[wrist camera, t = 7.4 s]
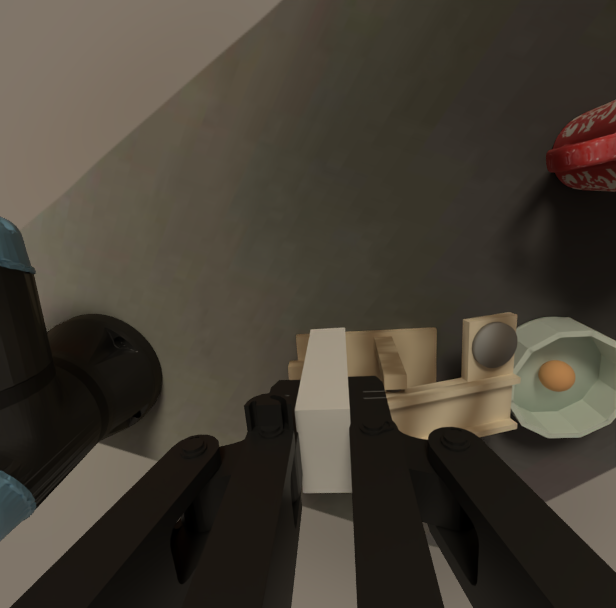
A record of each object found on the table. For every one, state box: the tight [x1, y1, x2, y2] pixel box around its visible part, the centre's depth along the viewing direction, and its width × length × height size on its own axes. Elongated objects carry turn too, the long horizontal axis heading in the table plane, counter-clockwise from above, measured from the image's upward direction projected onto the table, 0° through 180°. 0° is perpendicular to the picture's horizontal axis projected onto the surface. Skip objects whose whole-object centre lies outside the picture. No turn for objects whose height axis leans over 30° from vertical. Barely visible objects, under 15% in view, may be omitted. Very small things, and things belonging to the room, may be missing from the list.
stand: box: [288, 327, 437, 392], centre depth 40 cm, size 17×11×11 cm, turn 95°
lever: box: [385, 312, 521, 440], centre depth 36 cm, size 24×12×6 cm, turn 95°
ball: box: [538, 360, 575, 392], centre depth 41 cm, size 3×3×3 cm
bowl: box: [511, 316, 616, 438], centre depth 41 cm, size 12×12×5 cm
